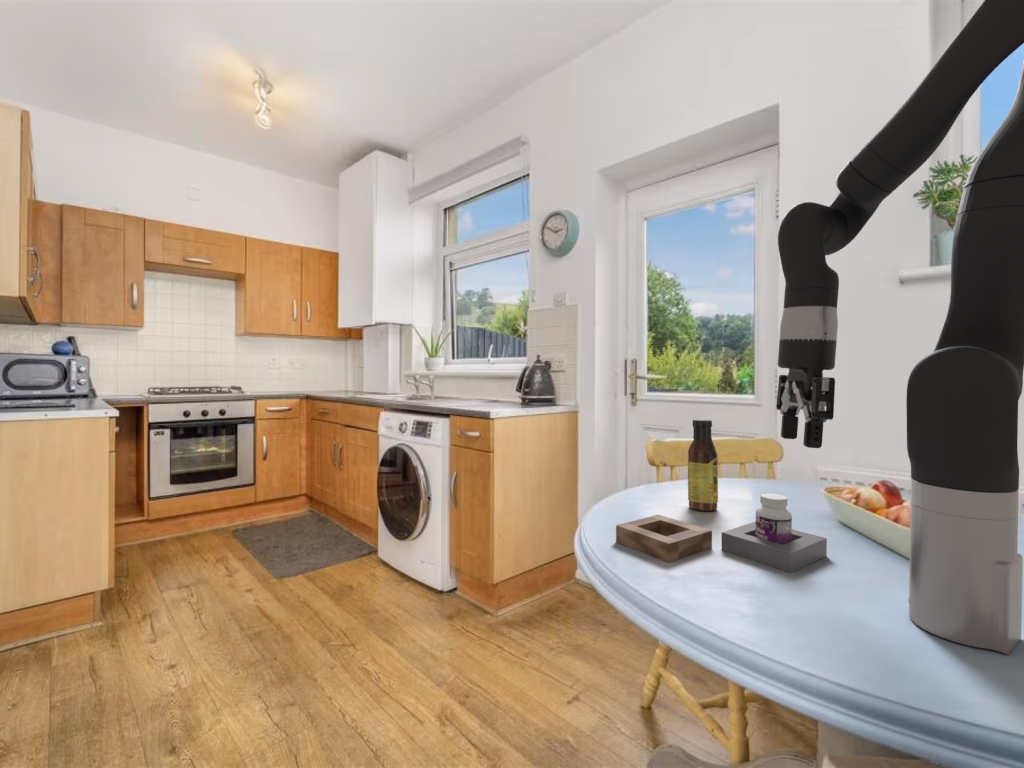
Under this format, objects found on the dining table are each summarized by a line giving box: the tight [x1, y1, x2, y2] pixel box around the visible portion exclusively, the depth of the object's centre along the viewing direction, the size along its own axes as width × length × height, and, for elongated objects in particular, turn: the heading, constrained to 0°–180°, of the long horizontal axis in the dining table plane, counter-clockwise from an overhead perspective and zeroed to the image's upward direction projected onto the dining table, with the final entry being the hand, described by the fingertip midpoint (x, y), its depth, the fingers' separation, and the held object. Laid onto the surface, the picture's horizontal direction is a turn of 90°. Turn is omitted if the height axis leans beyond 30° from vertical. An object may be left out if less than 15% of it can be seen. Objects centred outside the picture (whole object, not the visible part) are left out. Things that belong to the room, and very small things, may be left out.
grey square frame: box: [721, 521, 828, 573], centre depth 81 cm, size 12×12×3 cm
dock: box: [615, 514, 713, 563], centre depth 85 cm, size 12×12×3 cm
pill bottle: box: [755, 493, 793, 545], centre depth 81 cm, size 5×5×10 cm
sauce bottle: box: [687, 418, 719, 512], centre depth 108 cm, size 6×6×20 cm
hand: (799, 442), depth 75 cm, fingers open, 8 cm apart
